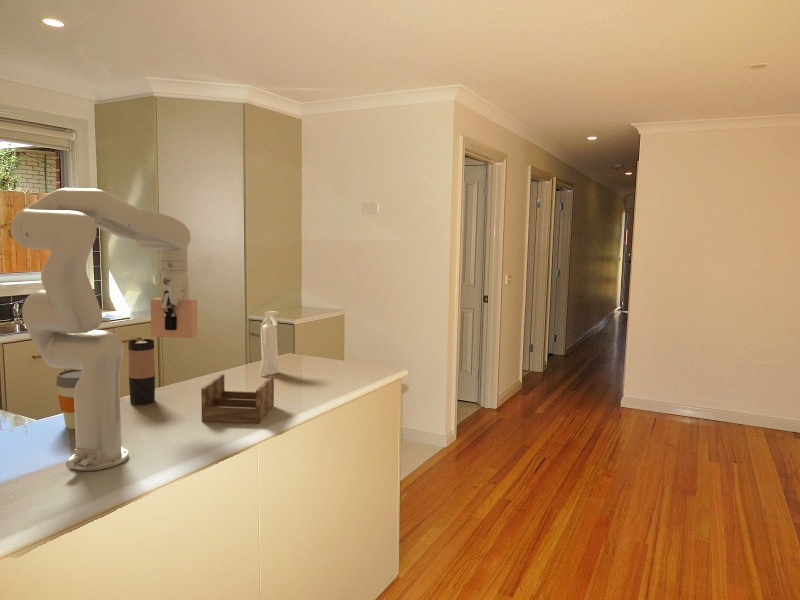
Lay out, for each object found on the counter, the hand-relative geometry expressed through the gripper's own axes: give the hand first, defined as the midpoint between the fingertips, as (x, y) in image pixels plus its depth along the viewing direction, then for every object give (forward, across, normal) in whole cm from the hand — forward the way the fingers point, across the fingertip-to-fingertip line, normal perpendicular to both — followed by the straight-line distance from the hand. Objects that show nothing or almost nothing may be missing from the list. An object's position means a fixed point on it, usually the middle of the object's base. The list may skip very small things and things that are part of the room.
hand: (174, 328), depth 162 cm
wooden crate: (+27, +4, -18) cm, 33 cm away
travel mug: (+27, +12, +16) cm, 34 cm away
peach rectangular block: (+2, 0, 0) cm, 2 cm away
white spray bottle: (+26, +54, -14) cm, 62 cm away
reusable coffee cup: (+27, -10, +22) cm, 36 cm away
